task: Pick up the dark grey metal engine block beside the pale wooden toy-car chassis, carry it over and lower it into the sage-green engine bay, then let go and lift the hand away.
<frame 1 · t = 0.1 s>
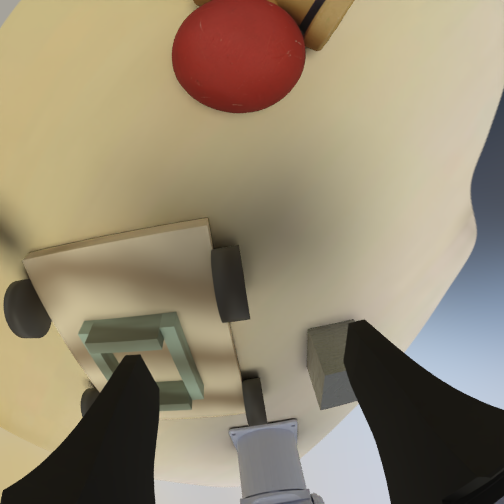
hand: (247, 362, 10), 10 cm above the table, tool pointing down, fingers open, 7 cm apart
chassis: (148, 346, 22), on the table
engine block: (329, 344, 24), on the table
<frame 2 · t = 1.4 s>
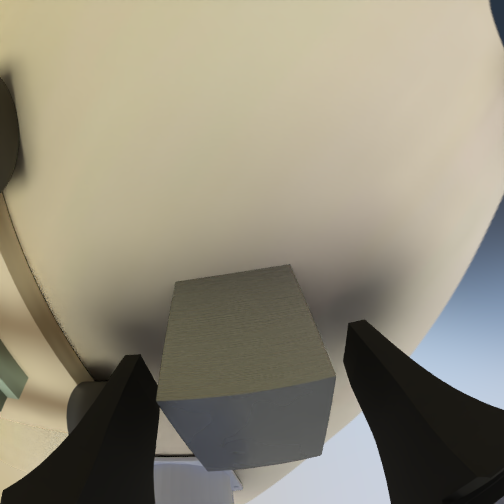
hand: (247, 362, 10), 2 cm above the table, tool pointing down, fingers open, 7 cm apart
engine block: (242, 325, 11), on the table
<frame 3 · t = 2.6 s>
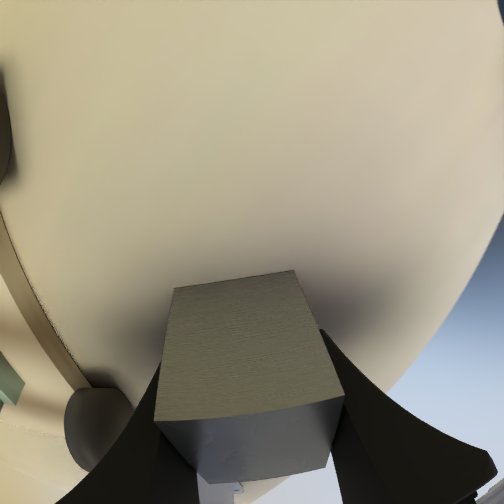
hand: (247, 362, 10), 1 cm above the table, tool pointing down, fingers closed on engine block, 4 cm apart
engine block: (243, 334, 11), on the table, touching gripper
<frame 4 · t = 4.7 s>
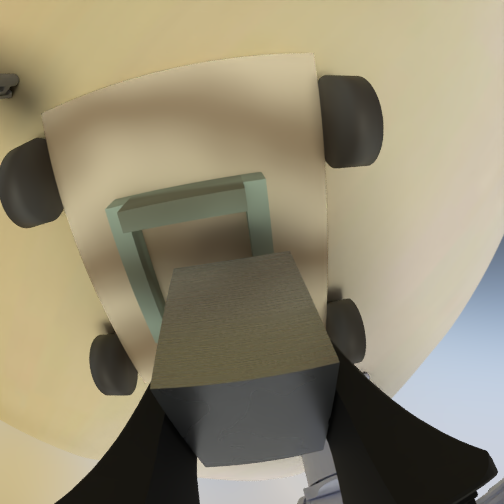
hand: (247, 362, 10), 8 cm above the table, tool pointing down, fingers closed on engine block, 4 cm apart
chassis: (202, 250, 17), on the table
engine block: (241, 316, 11), point 6 cm above the table, touching gripper
mechanical component: (12, 86, 10), on the table
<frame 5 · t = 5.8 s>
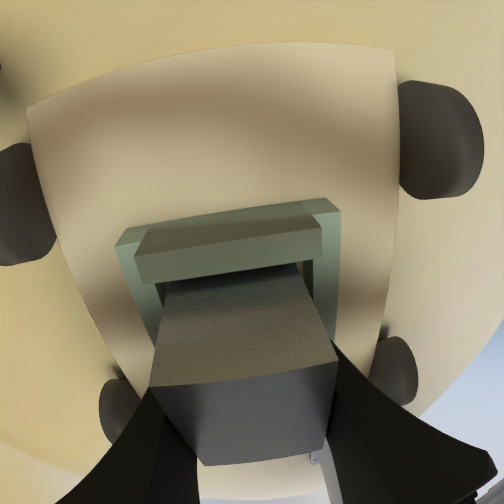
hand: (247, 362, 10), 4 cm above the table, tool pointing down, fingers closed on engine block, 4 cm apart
chassis: (238, 289, 13), on the table
engine block: (240, 314, 11), point 2 cm above the table, touching gripper
when the fingers open (4 cm above the table, at t = 6.8 s): engine block stays where it is, resting on chassis.
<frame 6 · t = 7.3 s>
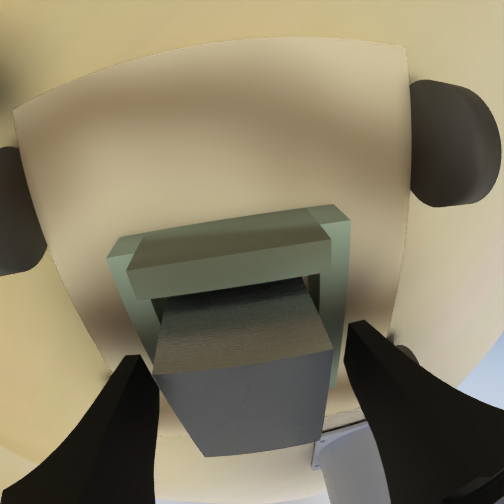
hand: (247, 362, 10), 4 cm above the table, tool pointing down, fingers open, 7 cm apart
chassis: (239, 299, 13), on the table
engine block: (240, 309, 11), point 1 cm above the table, touching chassis
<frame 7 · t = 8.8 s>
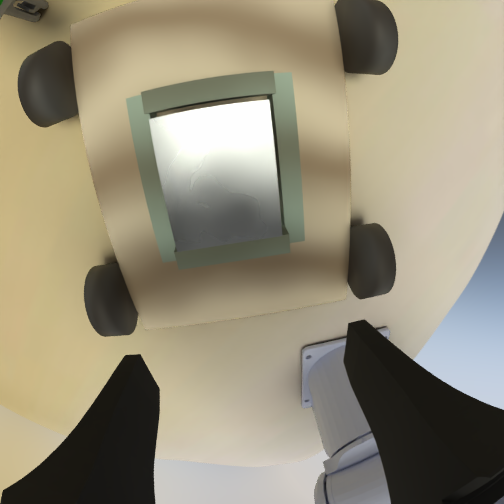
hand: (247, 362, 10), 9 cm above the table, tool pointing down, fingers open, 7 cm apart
chassis: (220, 160, 15), on the table
engine block: (219, 156, 14), point 1 cm above the table, touching chassis
mechanical component: (40, 12, 9), on the table
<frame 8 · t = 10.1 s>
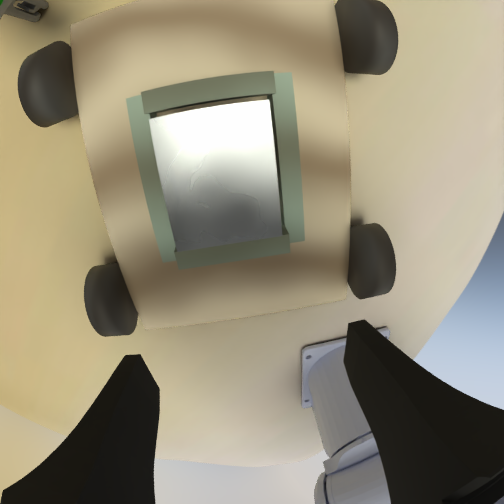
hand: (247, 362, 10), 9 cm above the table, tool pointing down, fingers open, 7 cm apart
chassis: (220, 160, 15), on the table
engine block: (219, 156, 14), point 1 cm above the table, touching chassis
mechanical component: (40, 12, 9), on the table
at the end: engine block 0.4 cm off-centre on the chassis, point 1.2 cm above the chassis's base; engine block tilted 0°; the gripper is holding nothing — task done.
